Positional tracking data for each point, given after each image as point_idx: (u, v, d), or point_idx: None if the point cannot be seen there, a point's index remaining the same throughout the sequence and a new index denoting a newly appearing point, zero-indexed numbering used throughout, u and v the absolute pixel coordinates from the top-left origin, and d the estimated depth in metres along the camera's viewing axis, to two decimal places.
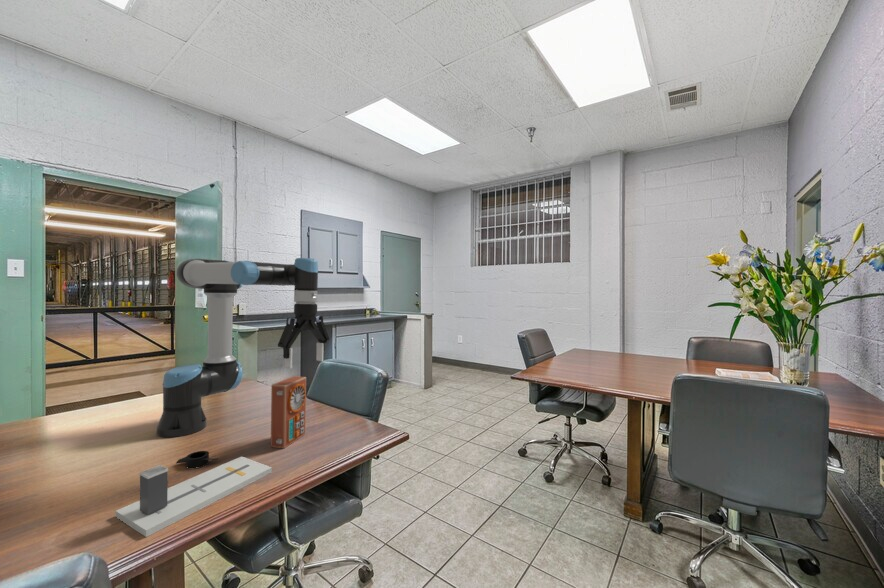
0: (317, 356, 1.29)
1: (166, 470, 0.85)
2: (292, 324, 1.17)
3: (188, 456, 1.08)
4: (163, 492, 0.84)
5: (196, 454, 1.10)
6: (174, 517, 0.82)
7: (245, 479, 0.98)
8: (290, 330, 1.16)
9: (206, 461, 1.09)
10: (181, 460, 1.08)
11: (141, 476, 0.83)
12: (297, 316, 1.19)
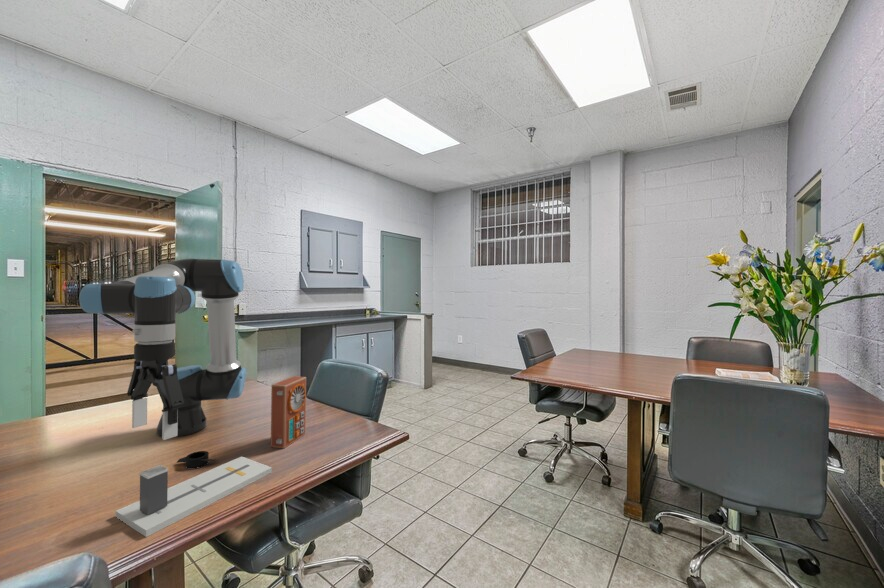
0: None
1: (166, 470, 0.85)
2: (134, 368, 0.86)
3: (188, 456, 1.08)
4: (163, 492, 0.84)
5: (197, 454, 1.10)
6: (174, 517, 0.82)
7: (245, 479, 0.98)
8: (133, 375, 0.86)
9: (205, 462, 1.08)
10: (182, 459, 1.08)
11: (141, 476, 0.83)
12: None
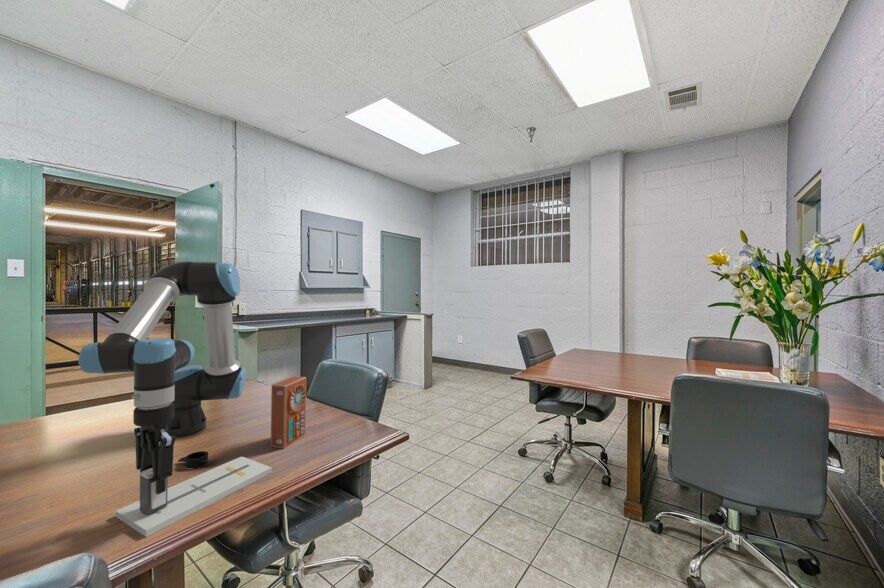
0: None
1: None
2: (136, 436, 0.85)
3: (188, 456, 1.08)
4: None
5: (197, 454, 1.10)
6: (174, 517, 0.82)
7: (245, 479, 0.98)
8: (136, 445, 0.85)
9: (203, 463, 1.08)
10: (183, 459, 1.09)
11: (141, 476, 0.83)
12: None
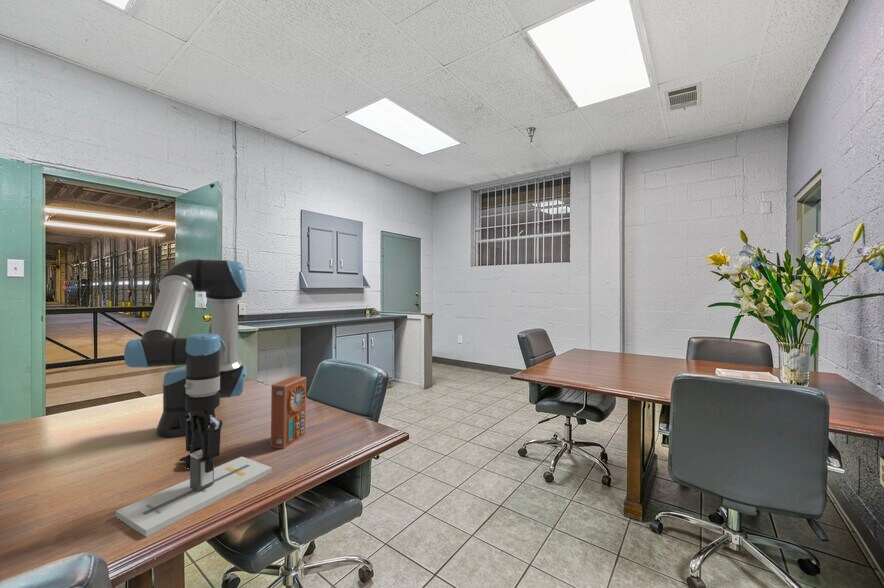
0: None
1: None
2: (186, 422, 0.95)
3: (188, 455, 1.08)
4: None
5: None
6: (174, 517, 0.82)
7: (245, 479, 0.98)
8: (186, 429, 0.95)
9: None
10: (183, 458, 1.09)
11: (191, 457, 0.92)
12: None
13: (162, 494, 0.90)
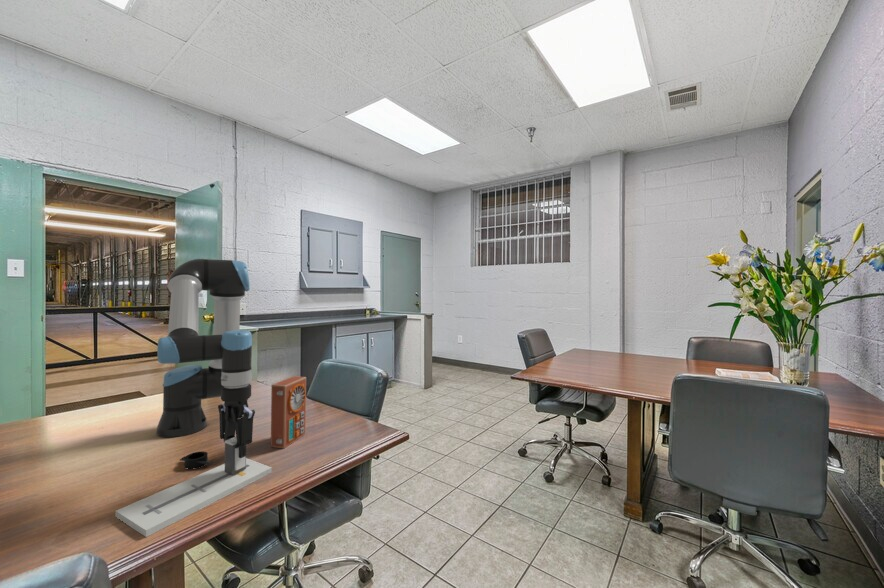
0: None
1: None
2: (220, 411, 1.03)
3: (188, 455, 1.08)
4: None
5: (198, 454, 1.10)
6: (174, 517, 0.82)
7: (245, 479, 0.98)
8: (220, 419, 1.03)
9: (201, 464, 1.07)
10: (184, 458, 1.09)
11: (226, 443, 1.01)
12: None
13: (162, 494, 0.90)
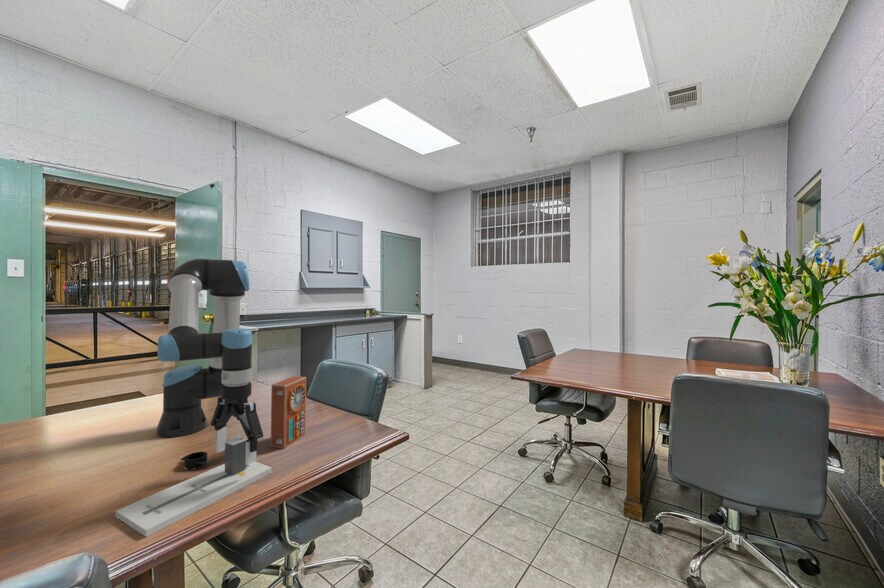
0: None
1: (245, 439, 1.03)
2: (218, 404, 1.04)
3: (188, 455, 1.08)
4: (243, 457, 1.02)
5: (198, 454, 1.10)
6: (174, 517, 0.82)
7: (245, 479, 0.98)
8: (216, 410, 1.04)
9: (200, 464, 1.07)
10: None
11: (226, 443, 1.01)
12: None
13: (162, 494, 0.90)
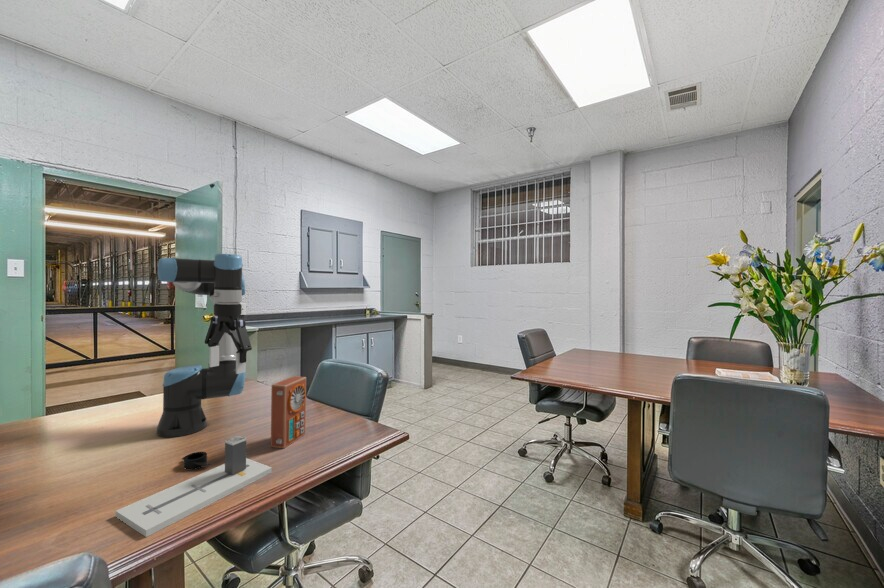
0: None
1: (245, 439, 1.03)
2: (211, 322, 1.14)
3: (188, 455, 1.09)
4: (243, 457, 1.02)
5: (199, 454, 1.10)
6: (174, 517, 0.82)
7: (245, 479, 0.98)
8: (209, 328, 1.15)
9: (198, 465, 1.06)
10: None
11: (226, 443, 1.01)
12: None
13: (162, 494, 0.90)
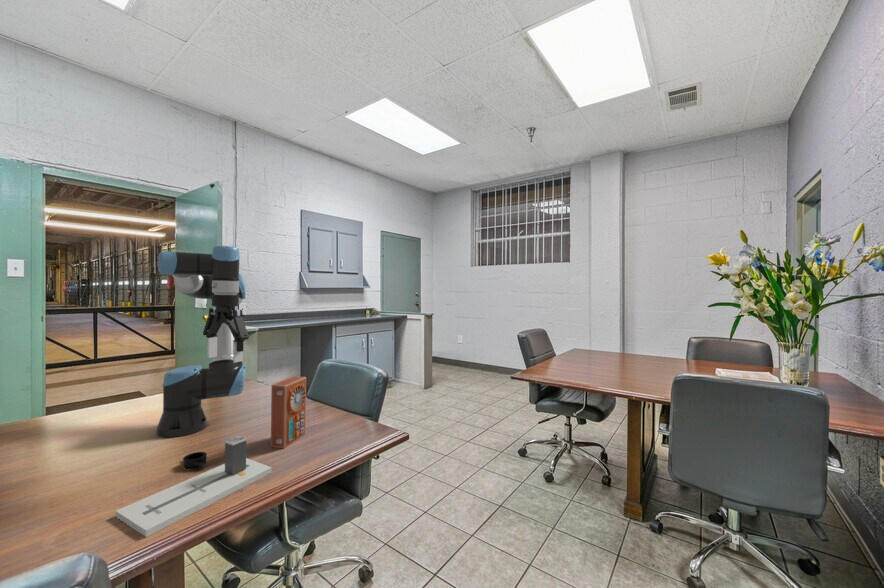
0: None
1: (245, 439, 1.03)
2: (209, 314, 1.17)
3: (189, 455, 1.09)
4: (243, 457, 1.02)
5: (199, 454, 1.10)
6: (174, 517, 0.82)
7: (245, 479, 0.98)
8: (208, 319, 1.18)
9: None
10: None
11: (226, 443, 1.01)
12: None
13: (162, 494, 0.90)
